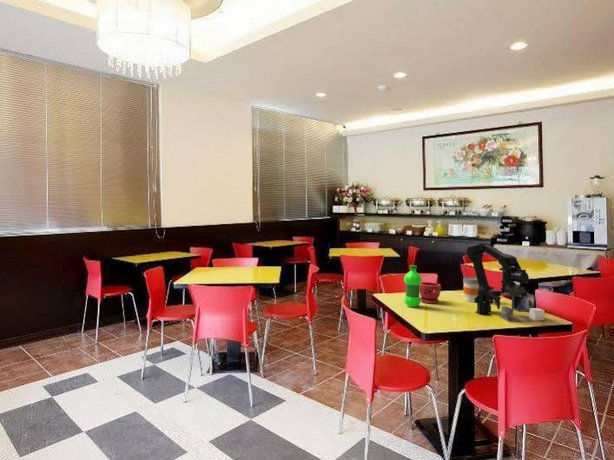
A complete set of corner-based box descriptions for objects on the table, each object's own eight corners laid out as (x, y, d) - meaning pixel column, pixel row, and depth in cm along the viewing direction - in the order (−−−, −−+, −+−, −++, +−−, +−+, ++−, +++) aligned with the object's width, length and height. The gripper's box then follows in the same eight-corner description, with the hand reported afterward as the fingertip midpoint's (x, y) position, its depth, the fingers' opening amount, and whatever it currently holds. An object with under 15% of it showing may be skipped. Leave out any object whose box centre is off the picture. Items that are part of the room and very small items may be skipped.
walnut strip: (510, 324, 210) (511, 310, 209) (498, 317, 222) (498, 305, 221) (555, 323, 211) (555, 310, 211) (540, 317, 223) (540, 304, 223)
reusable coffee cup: (479, 299, 268) (480, 276, 268) (486, 303, 256) (486, 280, 255) (460, 298, 270) (460, 276, 269) (465, 303, 257) (466, 279, 256)
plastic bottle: (401, 307, 245) (402, 266, 244) (406, 303, 255) (407, 264, 253) (418, 309, 241) (419, 267, 239) (422, 305, 250) (423, 265, 249)
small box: (519, 314, 231) (519, 295, 231) (510, 311, 238) (511, 293, 237) (534, 312, 234) (535, 294, 234) (525, 310, 241) (526, 292, 240)
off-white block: (535, 320, 214) (535, 310, 214) (529, 317, 219) (529, 308, 219) (544, 319, 214) (544, 310, 214) (538, 317, 219) (538, 308, 219)
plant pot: (436, 305, 251) (436, 286, 250) (415, 302, 259) (416, 283, 258) (443, 301, 261) (443, 283, 260) (423, 298, 269) (423, 280, 268)
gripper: (499, 282, 206) (498, 313, 207) (534, 282, 207) (533, 312, 208) (488, 278, 217) (487, 307, 218) (521, 278, 218) (520, 307, 219)
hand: (507, 309), depth 215 cm, fingers open, 9 cm apart
